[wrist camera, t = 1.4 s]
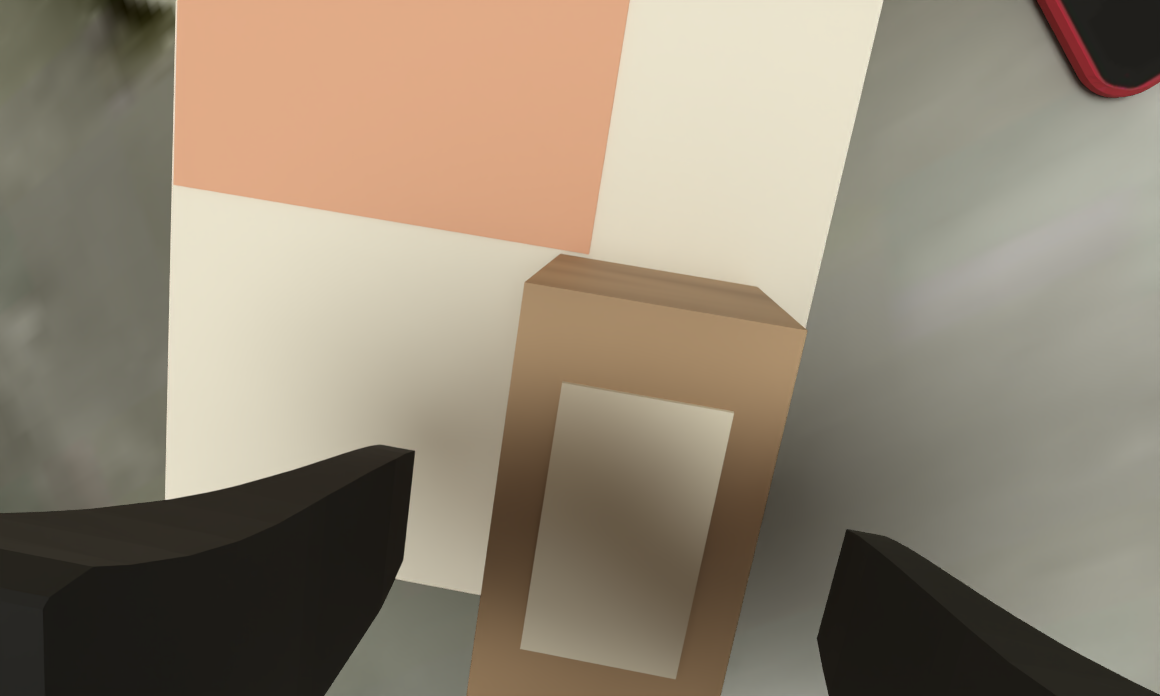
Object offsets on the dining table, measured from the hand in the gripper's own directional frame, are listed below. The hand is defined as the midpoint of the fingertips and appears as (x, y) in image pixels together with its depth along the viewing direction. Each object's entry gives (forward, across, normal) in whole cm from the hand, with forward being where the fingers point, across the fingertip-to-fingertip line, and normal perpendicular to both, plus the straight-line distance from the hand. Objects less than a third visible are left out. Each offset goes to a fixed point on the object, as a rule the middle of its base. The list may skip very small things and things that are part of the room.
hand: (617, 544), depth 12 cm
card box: (+6, 0, 0) cm, 6 cm away
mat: (+6, +4, -3) cm, 8 cm away
